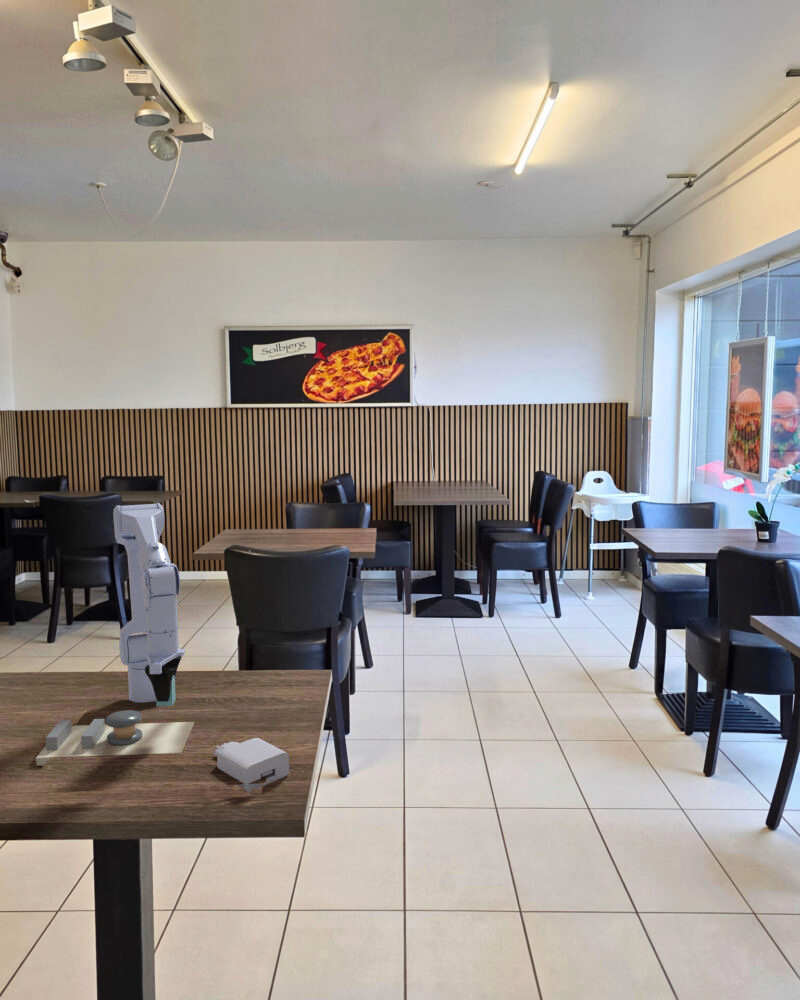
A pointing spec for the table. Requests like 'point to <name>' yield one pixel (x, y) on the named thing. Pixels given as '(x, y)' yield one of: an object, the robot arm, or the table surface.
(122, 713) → the bobbin
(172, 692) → the peg
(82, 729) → the board
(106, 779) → the table surface
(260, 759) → the charger
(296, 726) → the table surface
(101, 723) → the gray parallel rails
